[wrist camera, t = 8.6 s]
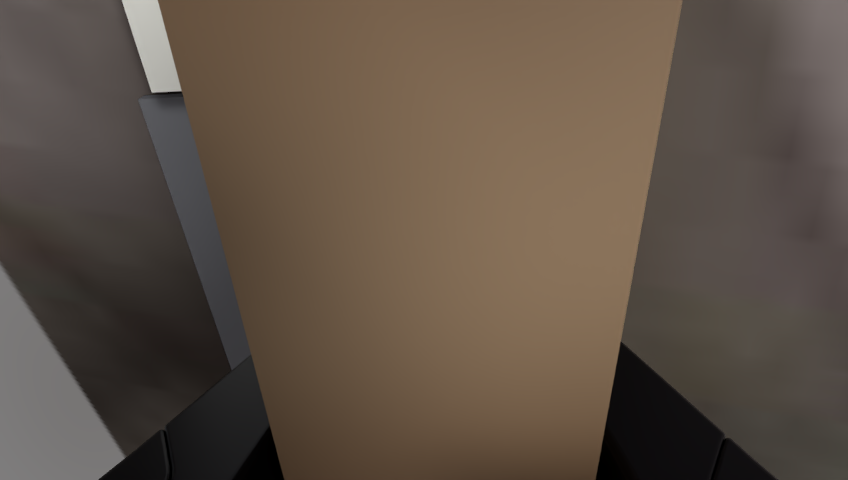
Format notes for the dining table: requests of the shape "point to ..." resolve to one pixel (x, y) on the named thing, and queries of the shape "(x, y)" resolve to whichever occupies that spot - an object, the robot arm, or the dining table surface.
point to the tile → (152, 44)
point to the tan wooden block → (429, 219)
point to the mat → (196, 214)
